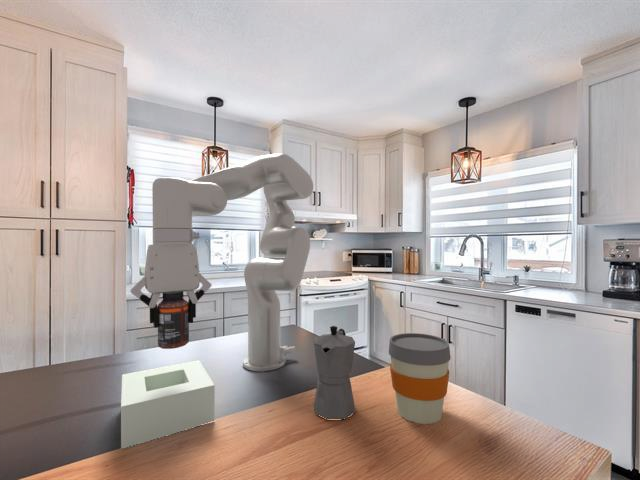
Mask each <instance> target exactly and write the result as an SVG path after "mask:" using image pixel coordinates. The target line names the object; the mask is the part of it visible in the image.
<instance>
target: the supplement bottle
mask: <svg viewBox="0 0 640 480" xmlns="http://www.w3.org/2000/svg"><path fill="white" fill-rule="evenodd" d="M161 298H162V300H161V301H160V302H159V303H158V304H157V307H158V309H159V327H157V346H158V347H159V348H160V349H163V350H172V349H178V348H182V347H184V346H185V347H186V345H187V344H188V343H189V342H190V323H189V307H188V301H187V300H185V299H184V292H171V293H162V297H161Z"/></svg>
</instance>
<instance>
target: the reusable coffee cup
mask: <svg viewBox="0 0 640 480" xmlns="http://www.w3.org/2000/svg"><path fill="white" fill-rule="evenodd" d="M388 355H389V356H390V361H391V363H390V364H389V370H390V377H391V385H392V389H393V390H394V392H395V400H396V408H397V413H398V414H399V416H401V417H402V416H403V417H404V419H405V420H406V421H409V422H412V423H416V424H421V425H428V424H429V425H430V424H435V423H437V422H439V421H441V419H442V416H443V410H444V400H445V398H446V396H447V393H448V385H449V377H450V369H448V368H449V361H451V350H450V343H449V342H448V340H446V339H444V338H442V337H439V336H436V335H432V334H427V333H418V332H413V333H412V332H407V333H406V332H405V333H398V334H394V335H393V336H390V338H389V345H388ZM403 417H402V418H403Z"/></svg>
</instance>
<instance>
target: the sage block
mask: <svg viewBox="0 0 640 480" xmlns="http://www.w3.org/2000/svg"><path fill="white" fill-rule="evenodd" d="M215 394H216V393H215V384H214V382H213V379H211V377H210V375H209V374H208V372H207V370H206V369H205V367H204V366H203V364H202V362H201V361H200V360H199V359H197V360H194V361H193V360H191V361H186V362H182V363H175V364H170V365H165V366H160V367H156V368H150V369H144V370H138V371H134V372H129V373H123V374H121V396H120V399H121V401H120V436H121V437H120V449H121V450H123V449H122V448H124V449H127V448H126V447H128V448H130V447H129V446H131V447H134V446H133V445H135V446H137V445H136V444H138V445H141V444H140V443H142V444H144V443H143V442H145V443H147V442H146V441H148V442H151V441H150V440H152V441H154V440H153V439H155V440H157V439H156V438H159V437H162V438H164V437H163V436H166V435H169V436H171V435H170V434H173V433H176V432H179V433H181V432H180V431H182V430H185V429H189V428H192V427H195V426H198V425H201V424H205V423H208V422H211V421H214V420H215V419H216V416H215V415H216V413H215V409H216V408H215V406H216V405H215V403H216V402H215V401H216V400H215V398H216V397H215ZM176 434H177V433H176ZM173 435H174V434H173ZM166 437H167V436H166ZM159 439H160V438H159Z"/></svg>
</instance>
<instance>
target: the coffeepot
mask: <svg viewBox="0 0 640 480" xmlns="http://www.w3.org/2000/svg"><path fill="white" fill-rule="evenodd" d="M329 329H330V333H329V334H327V333H326V334H322V335H319V336H316V337H312V342H313V347H314V354H315V361H316V368H317V373H318V378H317V381H316V382H317V383H316V389H315V394H314V395H315V397H314V402H313V410H314V409H315V411H314V414H315V415H316V414H317V415H320V416H322V417H324V418H326V419H344V418H347V417H348V416H350V415H351V414H352V413H353V414H354V413H356V412H355V411H356V405H355V399H354V396H353V395H354V394H353V388H352V382H351V378H350V374H351V373H352V369H353V361H354V354H355V347H356V341H355V339H354V337H352V336H349V335H346V332H345V330H344V329H343V328H339V329H338V326H335V325H331V326H330V327H329ZM317 415H316V416H317ZM347 419H348V418H347Z"/></svg>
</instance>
